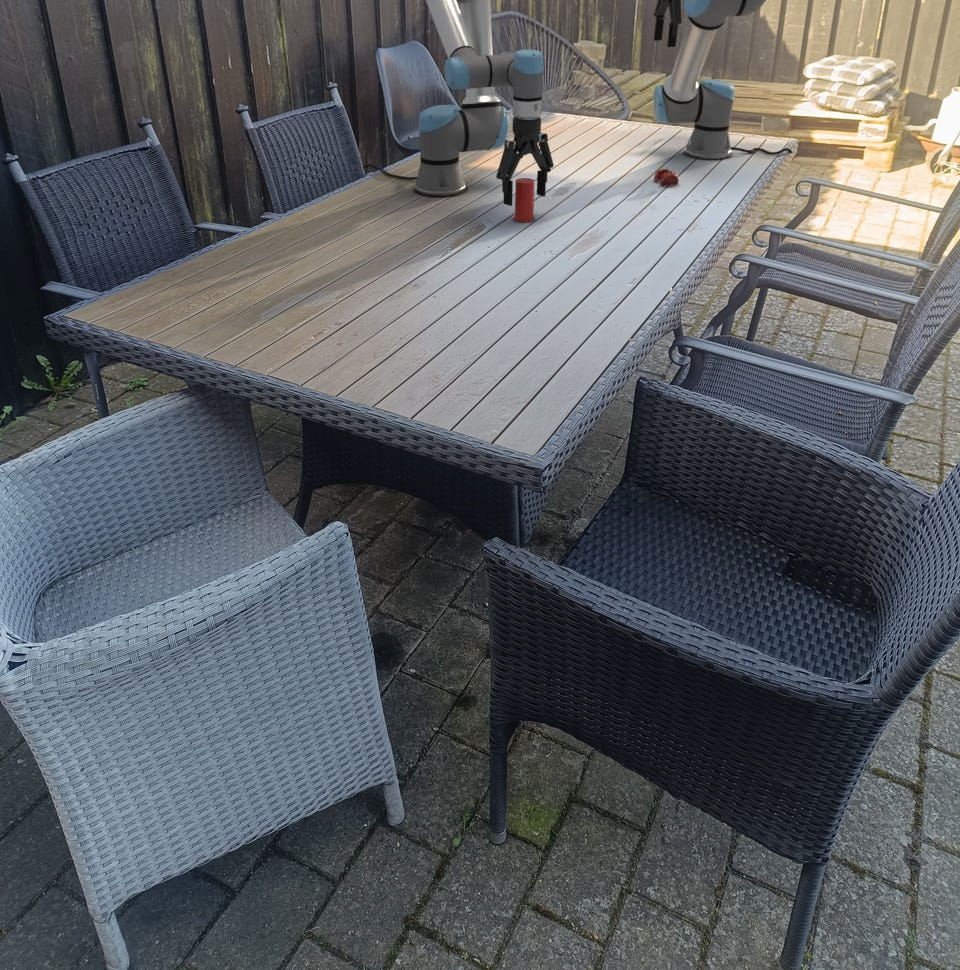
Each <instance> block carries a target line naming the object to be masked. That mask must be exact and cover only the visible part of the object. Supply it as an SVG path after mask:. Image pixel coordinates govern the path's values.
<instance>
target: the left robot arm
mask: <svg viewBox="0 0 960 970" xmlns="http://www.w3.org/2000/svg"><path fill="white" fill-rule="evenodd" d="M424 1H425V2H426V5H427V7H428V10H429V13H430V15H431V18H432V21H433V23H434V25H435V28H436V32H437V34H438V36H439V39H440V42H441V45H442V47H443V50H444V52H445V55H446V57H447V59H446V60H445V62H444V67H443V68H444V69H443V71H444V73H443V74H444V78H445V79H444V80H445V83H446V85H447V87H448V89H450V90H464V91H465V97H464V99H463V100H462V102H461V109H459V107H458V106H457V105H455V104H439V105H434V106H430V107H427V108H425V109H424V110H423V111H421V112H420V114H419V116H418V118H419V119H418V120H419V121H418V132H419V133H418V134H419V135H418V136H419V157H420V158H419V159H420V161H419V162H420V164H419V168H418V172H417V176H403V175H402V176H401V175H398V174H393V173H389V172H387V170H385V169H384V168H383V167H380V166H378V165H375V164H373V163H367V164H366V163H365V165H364V166H363V169H367V168H368V167H371V168H373V169H376V170H379V171H380V172H382V173H383V174H384V175H386V176H388V177H392V178H395V179H401V180H406V181H415V185H414V186H415V192H417V193H418V194H420V195H424V196H430V197H450V196H455V195H459V194H461V193H463V192H464V191H466V181H465V179H464V172H462V169H461V165H460V153H467V152H468V153H469V152H479V151H480V152H481V151H491V150H495V149H499V148H501V147H502V146H503V145H504V146H503V147H504V148H503V152H502V155H501V159H500V162H499V165H498V169H497V172H496V175H495V178H496V179H497V180H501V183H502V184H501V186H502V187H501V192H502V193H503V205H505V206H509V207H512V206H513V189H514V181H513V180H512V178H513V175H514V174H515V171H516V169H517V167H518V166H519V163H520V161H521V159H523V158H524V156H528V155H529V154H530V155H531V156H532V157H533V160H534V161H535V163H536V164H537V167H538V168H539V170H537V173H536V174H537V175H536V195H537V196H540V197H546V187H547V182H548V173H551V170H552V169H553V168H554V165H555V164H554V160H553V158H552V153H551V149H550V145H549V141H548V140H549V139H548V138H549V135H548V133H545V132H541V131H542V118H541V116H542V109H543V107H542V106H543V105H542V104H543V84H544V83H543V82H544V70H545V66H544V54H543V52H541V50H537V49H536V50H535V49H520V50H516V52H515V51H503V52H501V53H499V54H493V53H494V52H493V50H494V49H493V34H492V33H493V31H492V15H491V1H492V0H424ZM496 87H497V88H499V87H513V88H512V91H513V92H512V116H513V118H512V128H511V129H512V130H511V131H512V133H513V140H511V139H510V140H509V139H507V137H508V133H509V126H510V125H509V124H510V121H509V120H510V119H509V115H508V109H507V108H506V106H505V107H504V106H502V105H501V99H500V98H499V97H498V96H497V95H496V92H495V91H496V90H495V88H496ZM382 170H383V171H382Z"/></svg>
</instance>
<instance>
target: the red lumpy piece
mask: <svg viewBox="0 0 960 970" xmlns="http://www.w3.org/2000/svg"><path fill="white" fill-rule="evenodd" d="M678 177H679V176H677V173H676V171H673V170H670V169H669V168H660V169H657V170H656V172H655V174H654V178H653V181H654V182H659V181H660V183H659V184H660V186H661V187H664V186H665V187H667V186H677V185H679V178H678Z"/></svg>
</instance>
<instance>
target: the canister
mask: <svg viewBox="0 0 960 970" xmlns="http://www.w3.org/2000/svg"><path fill="white" fill-rule="evenodd" d="M535 183H536V181H535V179H533V178H529V177H519V178H517V179H515V185H514V186H515V188H514V189H515V191H514V195H515V196H514V220H515V221H516V222H519V223H528V222H529V223H530V222H532V221H534V211H535V209H534V207H535Z"/></svg>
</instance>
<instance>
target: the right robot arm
mask: <svg viewBox="0 0 960 970" xmlns="http://www.w3.org/2000/svg"><path fill="white" fill-rule="evenodd" d="M766 1H767V0H684V3H683V4H684V5H683V6H684V12H685V15H686V17H687V20H688V25H687V28H686V31H685V34H684V37H683V39H682V42H681V44H680V48H679V51H678V55H677V57H676V60H675V62H674V66H673V68H672V72H671V74H669V75H668V76H666V78H665V79H664V81H663V84H657V85H656V86H655V87H654V91H653V113H654V117H655V121H656V122H658V123H661V124H683V123H684V124H686V123H687V124H689V123H690V124H691V123H694V125H693V130H692V133H691V135H690V137H689V138H688V140H687V141H686V146H685V151H684V152H685V154H686V155H687V156H689V157H692V158H696V159H701V160H721V159H726V158H729V157H730V156H731V154H732V153H731V152H732V150H733V151H738V152H743V153H748V154H751V153H753V152H756V151H758V152H762V153H764V154H766V155H770V156H771V155H772V156H775V155H780V154H782V153H784V152H788V153H789V154H792V153H793V151H792V150H791V149H790V148H789V147H784V148H782V149H780V150H777V151H770V150H769V151H768V150H766V149H764V148H762V147H754V148H752V149H745V148H740V147H735V146H731V139H730V133H729V132H730V131H729V130H730V125H731V119H732V112H733V106H734V102H735V91H736V88H735V86H734V85H733V84H732V83H730V82H727V81H723V80H721V79H720V80H719V79H713V78H702V79H700V81H699V83H698V80H699V78H700V75H701V73H702V70H703V67H704V65H705V62H706V59H707V57H708V54H709V51H710V49H711V46H712V44H713V41H714V39H715V35H716V33H717V30H719V29H721V28H722V27H723V26H724V25H725V23H726V21H727V19H728V17H745V16H749V15H752V14H753V13H755V12H757V11H758V10H759V9H760V8H761V7H762V6H764V4H765V3H766ZM667 11H668V12H669V19H670V22H669V24H668V26H669V27H668V33H667V34H668V35H667V43H666V47H667V48H676V46H677V38H678V28H679V25H681V24H682V0H657V1H656V5H655V8H654V13H653V17H654V18H655V24H654V35H653V41H656V42H657V41H663V34H664V33H663V32H664V25H665V19H666V16H665V14H666V12H667Z"/></svg>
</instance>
